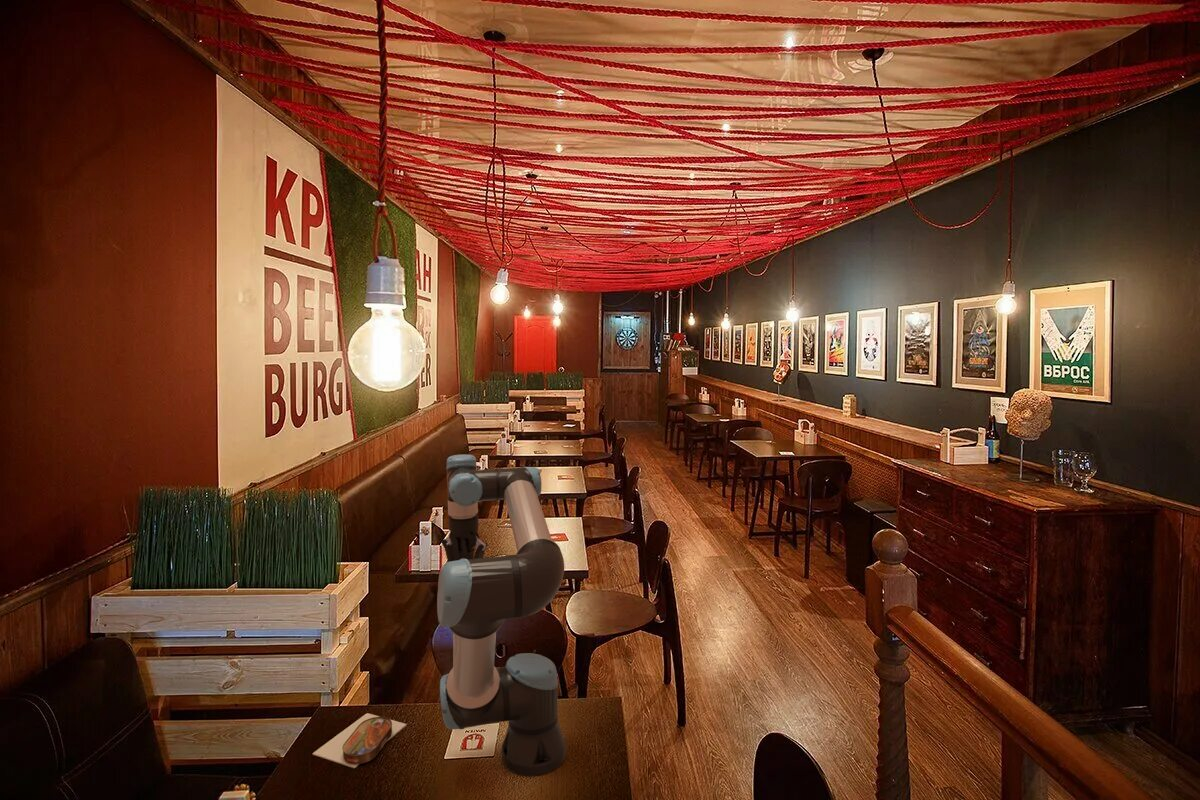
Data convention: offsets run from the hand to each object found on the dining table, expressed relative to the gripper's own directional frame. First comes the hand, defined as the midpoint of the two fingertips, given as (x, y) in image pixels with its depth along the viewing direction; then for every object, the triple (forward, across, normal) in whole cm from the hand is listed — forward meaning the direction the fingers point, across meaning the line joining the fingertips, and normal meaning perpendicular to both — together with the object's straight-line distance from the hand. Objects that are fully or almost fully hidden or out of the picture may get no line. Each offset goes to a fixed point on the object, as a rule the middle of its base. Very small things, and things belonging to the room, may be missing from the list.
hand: (466, 603), depth 171 cm
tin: (+28, +10, +21) cm, 37 cm away
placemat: (+29, +18, +21) cm, 40 cm away
